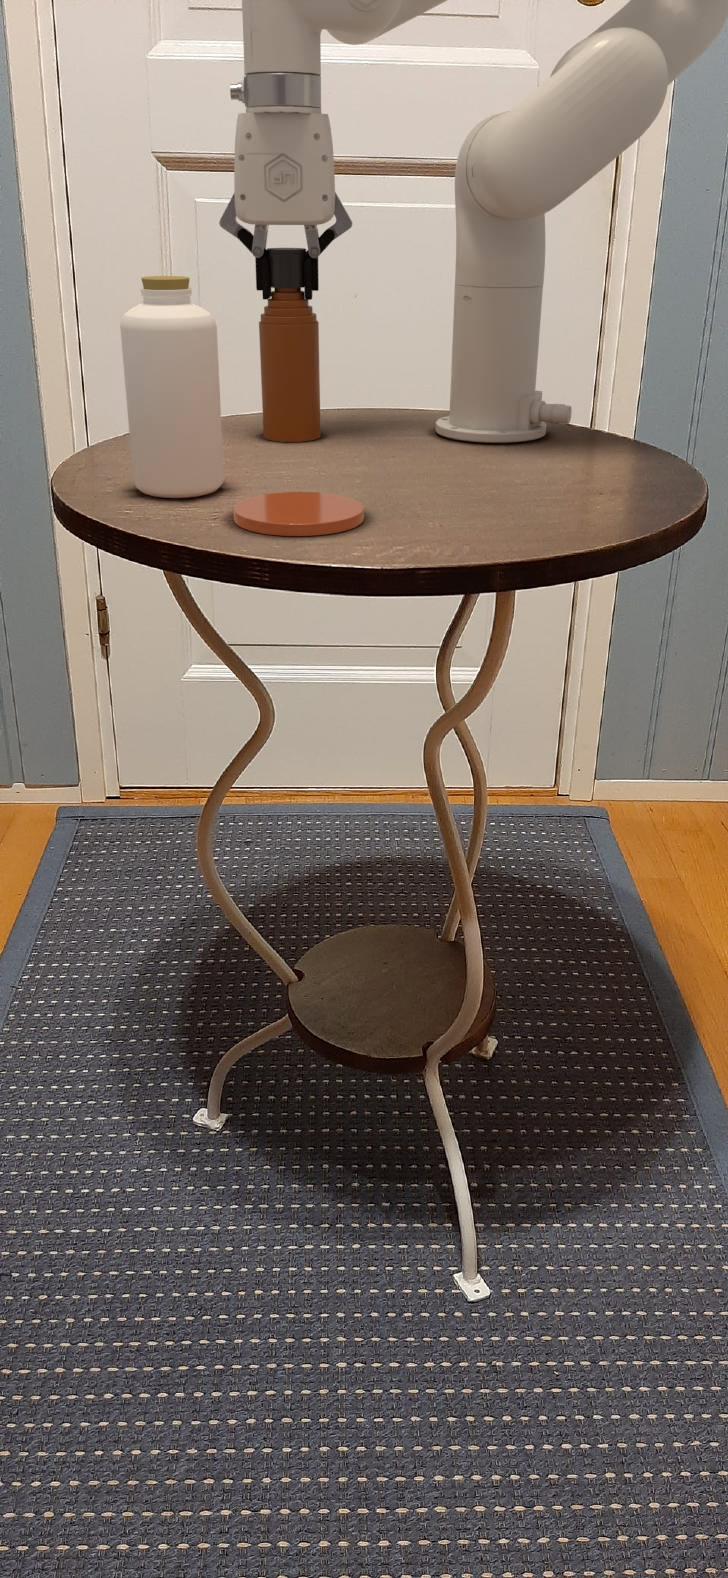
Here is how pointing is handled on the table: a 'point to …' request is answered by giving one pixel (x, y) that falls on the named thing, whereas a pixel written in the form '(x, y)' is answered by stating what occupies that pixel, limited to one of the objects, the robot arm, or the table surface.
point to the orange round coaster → (298, 513)
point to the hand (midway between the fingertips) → (287, 296)
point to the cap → (286, 267)
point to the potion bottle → (172, 391)
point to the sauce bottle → (290, 368)
